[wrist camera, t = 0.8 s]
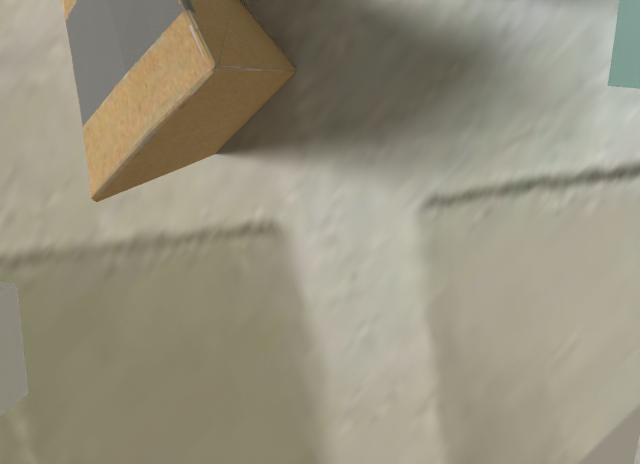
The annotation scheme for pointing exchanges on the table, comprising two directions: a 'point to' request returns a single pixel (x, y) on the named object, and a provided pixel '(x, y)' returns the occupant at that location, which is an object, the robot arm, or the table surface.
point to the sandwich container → (165, 83)
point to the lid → (626, 46)
